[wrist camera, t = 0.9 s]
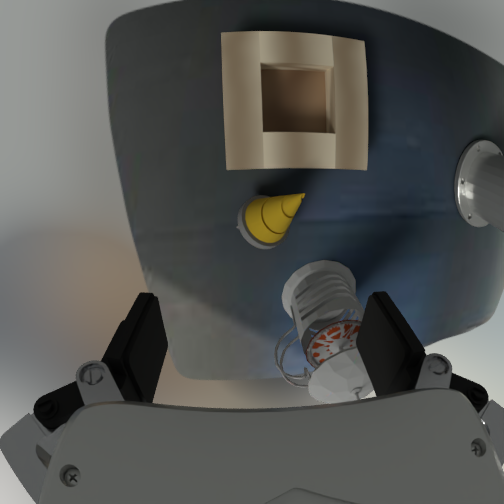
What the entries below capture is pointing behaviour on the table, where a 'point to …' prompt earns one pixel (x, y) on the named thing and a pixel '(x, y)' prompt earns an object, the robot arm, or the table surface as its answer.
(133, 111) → the table surface
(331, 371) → the french press
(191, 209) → the table surface
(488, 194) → the robot arm
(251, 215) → the yellow stepped cone
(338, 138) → the socket block
